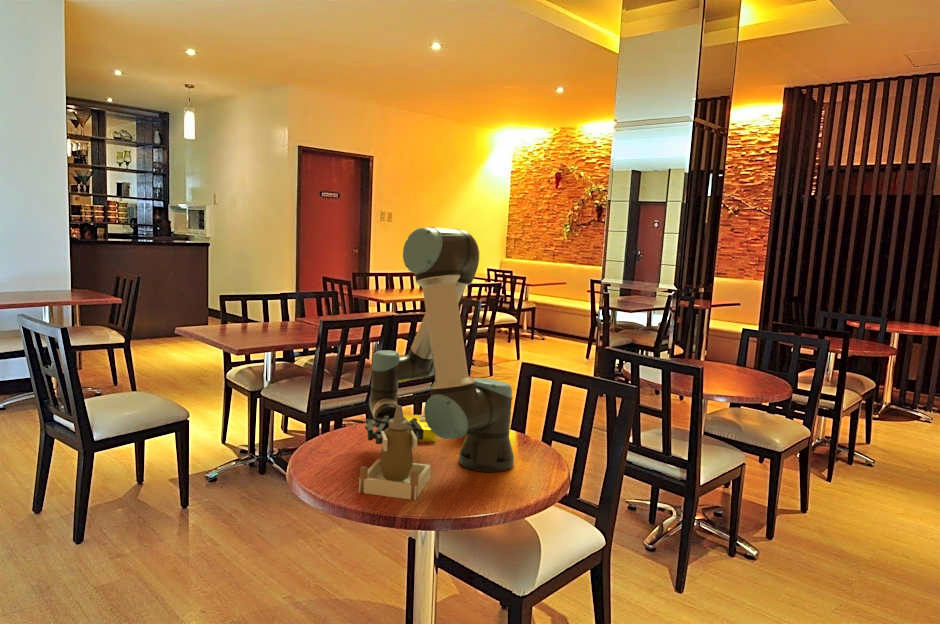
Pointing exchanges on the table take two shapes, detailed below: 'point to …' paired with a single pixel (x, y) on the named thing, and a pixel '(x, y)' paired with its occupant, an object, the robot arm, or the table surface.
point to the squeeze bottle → (397, 449)
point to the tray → (405, 489)
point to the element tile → (428, 433)
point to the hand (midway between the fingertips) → (400, 445)
